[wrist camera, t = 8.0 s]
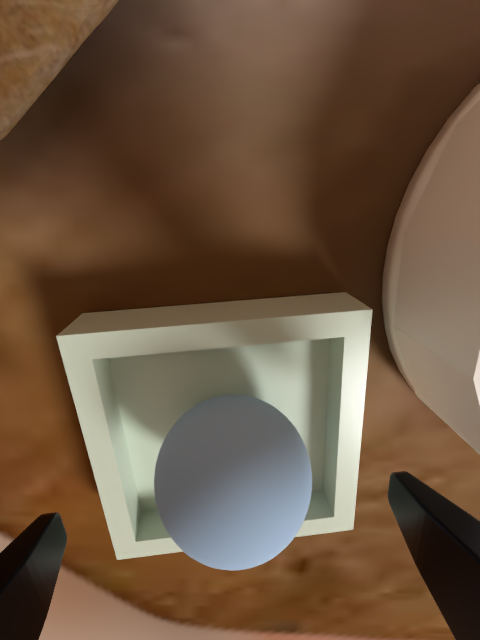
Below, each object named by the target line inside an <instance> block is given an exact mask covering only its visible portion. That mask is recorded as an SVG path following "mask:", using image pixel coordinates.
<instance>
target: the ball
mask: <svg viewBox="0 0 480 640" xmlns="http://www.w3.org/2000/svg"><path fill="white" fill-rule="evenodd" d="M311 492H312V471H311V464H310V459H309V456H308V452H307V449H306V447H305V444H304V442H303V440H302V438H301V436H300V434H299V432H298V431H297V429H296V428H295V426H294V425H293V424H292V423H291V421H290V420H289V419H288V418H287V417H286V416H285V415H284V414H283V413H281V412H280V411H279V410H278V409H277V408H275V407H274V406H272V405H271V404H269V403H267V402H264V401H262V400H260V399H258V398H255V397H251V396H246V395H237V394H232V395H222V396H217V397H213V398H210V399H207V400H205V401H202V402H201V403H199V404H197V405H195V406H194V407H192V408H191V409H190V410H188V411H187V412H185V413H184V414H183V415H182V416H181V417H180V418H179V419H178V420H177V422H176V423H175V424H174V425H173V427H172V428H171V429H170V431H169V432H168V434H167V436H166V437H165V439H164V441H163V443H162V446H161V448H160V451H159V454H158V457H157V461H156V466H155V474H154V493H155V501H156V505H157V509H158V512H159V516H160V518H161V520H162V523H163V525H164V527H165V529H166V531H167V532H168V534H169V535H170V537H171V538H172V539H173V541H174V542H175V543H176V544H177V545H178V547H179V548H180V549H182V550H183V551H184V552H185V553H186V554H187V555H188V556H190V557H191V558H193V559H195V560H196V561H198V562H200V563H202V564H204V565H206V566H209V567H212V568H216V569H222V570H243V569H248V568H252V567H255V566H258V565H261V564H263V563H265V562H267V561H269V560H271V559H272V558H274V557H275V556H276V555H278V554H279V553H280V552H281V551H282V550H283V549H284V548H286V547H287V546H288V545H289V543H290V542H291V541H292V540H293V538H294V537H295V535H296V534H297V532H298V531H299V529H300V528H301V526H302V524H303V521H304V519H305V517H306V514H307V511H308V508H309V504H310V499H311Z"/></svg>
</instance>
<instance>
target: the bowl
mask: <svg viewBox="0 0 480 640" xmlns="http://www.w3.org/2000/svg"><path fill="white" fill-rule="evenodd" d="M382 309H383V318H384V328H385V332H386V336H387V339H388V343H389V347H390V351H391V353H392V355H393V358H394V360H395V362H396V365H397V367H398V369H399V371H400V373H401V374H402V376H403V377H404V379H405V380H406V382H407V384H408V385H409V387H410V388H411V389H412V390H413V391H414V392H415V394H416V396H417V397H418V398H419V399H420V400H421V401H422V402H423V403H425V404H426V405H427V406H428V407H429V408H430V409H431V410H432V411H433V412H434V413H435V414H436V415H438V416H439V417H440V418H441V419H442V420H443V421H444V422H445V423H446V424H447V425H448V426H449V427H450V428H452V429H453V430H454V431H455V432H456V433H457V434H458V435H459V436H460V437H461V438H462V439H463V440H465V441H466V442H467V443H468V444H469V445H470V446H471V447H472V448H473V449H474V450H475V451H476V452H477V453H479V454H480V82H479V83H478V84H477V85H476V86H475V87H474V88H473V89H472V91H471V92H470V93H469V94H468V95H467V97H466V98H465V99H464V100H463V101H462V103H461V104H460V105H459V106H458V107H457V108H456V110H455V111H454V112H453V113H452V114H451V116H450V117H449V118H448V119H447V121H446V122H445V124H444V125H443V127H442V128H441V130H440V131H439V133H438V134H437V136H436V137H435V139H434V140H433V142H432V143H431V144H430V146H429V147H428V149H427V150H426V152H425V154H424V156H423V158H422V160H421V162H420V163H419V165H418V167H417V169H416V171H415V173H414V175H413V177H412V178H411V180H410V182H409V184H408V187H407V189H406V192H405V194H404V197H403V199H402V202H401V204H400V207H399V209H398V211H397V214H396V217H395V221H394V224H393V228H392V231H391V235H390V238H389V242H388V245H387V251H386V258H385V264H384V270H383V282H382Z"/></svg>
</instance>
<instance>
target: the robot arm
mask: <svg viewBox="0 0 480 640" xmlns="http://www.w3.org/2000/svg"><path fill="white" fill-rule="evenodd" d="M388 500H389V503H390V506H391V508H392V511H393V513H394V515H395V518H396V520H397V522H398V525H399V527H400V529H401V532H402V534H403V536H404V539H405V541H406V543H407V546H408V548H409V550H410V553H411V555H412V557H413V560H414V562H415V564H416V566H417V568H418V570H419V572H420V574H421V576H422V578H423V579H424V581H425V583H426V585H427V587H428V589H429V591H430V592H431V594H432V596H433V598H434V600H435V602H436V604H437V606H438V607H439V609H440V611H441V613H442V615H443V617H444V619H445V620H446V622H447V624H448V626H449V628H450V630H451V632H452V634H453V635H454V637H455V639H456V640H480V521H479V520H477V519H476V518H474V517H473V516H471V515H470V514H469V513H467V512H466V511H464V510H463V509H461V508H460V507H458V506H457V505H455V504H454V503H452V502H451V501H449V500H448V499H446V498H445V497H444V496H442V495H441V494H439V493H438V492H436V491H435V490H433V489H432V488H430V487H429V486H427V485H426V484H424V483H423V482H421V481H420V480H419V479H417V478H416V477H414V476H413V475H411V474H410V473H408V472H405V471H402V472H394V473H392V474H391V475H390V481H389V489H388ZM66 542H67V534H66V531H65V528H64V525H63V522H62V519H61V516H60V514H59V513H56V512H55V513H47V514H42V515H40V516H39V517H38V518H37V519H36V520H35V521H34V522H32V523H31V524H30V525H29V526H28V527H27V528H26V529H25V530H24V531H23V532H22V533H21V534H20V535H19V536H18V537H17V538H16V539H15V540H13V541H12V542H11V543H10V544H9V545H8V546H7V547H6V548H5V549H4V550H3V551H2V552H1V553H0V640H38V639H39V636H40V634H41V631H42V628H43V625H44V622H45V619H46V617H47V613H48V610H49V607H50V603H51V599H52V595H53V592H54V587H55V584H56V580H57V577H58V573H59V569H60V565H61V562H62V558H63V554H64V550H65V547H66Z"/></svg>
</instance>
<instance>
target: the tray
mask: <svg viewBox="0 0 480 640" xmlns="http://www.w3.org/2000/svg"><path fill="white" fill-rule="evenodd" d="M372 310H373V309H371V308H370V307H368V306H366V305H365V304H363V303H362V302H360V301H359V300H357V299H356V298H354V297H352V296H351V295H349V294H348V293H346V292H340V293H328V294H315V295H303V296H291V297H278V298H266V299H253V300H241V301H228V302H216V303H203V304H191V305H178V306H166V307H153V308H141V309H128V310H116V311H103V312H91V313H82V314H81V315H80V316H79V317H78V318H77V319H75V320H74V321H73V322H72V323H71V324H70V325H68V326H67V327H66V328H65V329H64V330H63V331H61V332H60V333H59V334H58V335H57V336H56V338H57V341H58V345H59V349H60V352H61V356H62V360H63V363H64V367H65V371H66V374H67V378H68V382H69V385H70V389H71V393H72V396H73V400H74V404H75V407H76V411H77V415H78V418H79V422H80V426H81V429H82V433H83V437H84V440H85V444H86V448H87V451H88V455H89V459H90V462H91V466H92V470H93V473H94V477H95V481H96V484H97V488H98V492H99V495H100V499H101V503H102V506H103V510H104V514H105V517H106V521H107V525H108V528H109V532H110V536H111V539H112V543H113V547H114V550H115V554H116V558H117V560H120V559H128V558H136V557H144V556H151V555H159V554H167V553H175V552H183V550H182V549H180V548H179V547H178V545H177V544H176V543H175V542H174V541H173V539H172V538H171V537H170V535H169V534H168V532H167V531H166V529H165V527H164V525H163V523H162V520H161V518H160V516H159V512H158V509H157V505H156V501H155V493H154V474H155V466H156V461H157V457H158V454H159V451H160V448H161V446H162V443H163V441H164V439H165V437H166V436H167V434H168V432H169V431H170V429H171V428H172V427H173V425H174V424H175V423H176V422H177V420H178V419H179V418H180V417H181V416H182V415H183V414H184V413H185V412H187V411H188V410H190V409H191V408H192V407H194V406H195V405H197V404H199V403H201V402H202V401H205V400H207V399H210V398H213V397H217V396H222V395H232V394H237V395H246V396H251V397H255V398H258V399H260V400H262V401H264V402H267V403H269V404H271V405H272V406H274V407H275V408H277V409H278V410H279V411H280V412H281V413H283V414H284V415H285V416H286V417H287V418H288V419H289V420H290V421H291V423H292V424H293V425H294V426H295V428H296V429H297V431H298V432H299V434H300V436H301V438H302V440H303V442H304V444H305V447H306V449H307V452H308V456H309V459H310V464H311V471H312V492H311V499H310V504H309V508H308V511H307V514H306V517H305V519H304V521H303V524H302V526H301V528H300V529H299V531H298V532H297V534H296V535H295V537H299V536H307V535H315V534H323V533H330V532H338V531H346V530H353V527H354V516H355V504H356V493H357V482H358V470H359V459H360V447H361V436H362V424H363V413H364V402H365V390H366V379H367V367H368V356H369V344H370V333H371V322H372Z"/></svg>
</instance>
